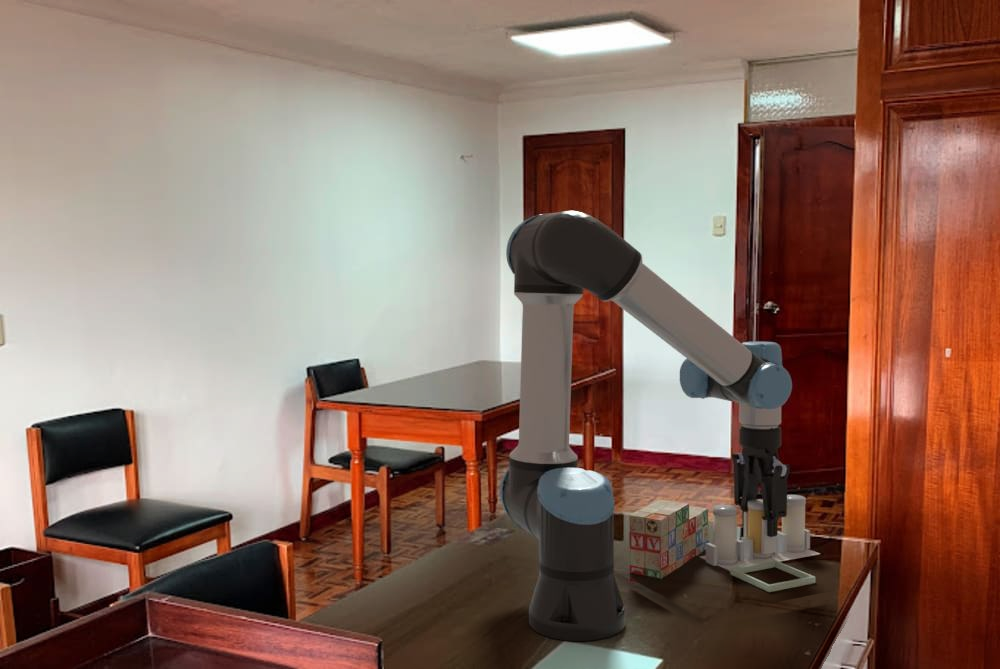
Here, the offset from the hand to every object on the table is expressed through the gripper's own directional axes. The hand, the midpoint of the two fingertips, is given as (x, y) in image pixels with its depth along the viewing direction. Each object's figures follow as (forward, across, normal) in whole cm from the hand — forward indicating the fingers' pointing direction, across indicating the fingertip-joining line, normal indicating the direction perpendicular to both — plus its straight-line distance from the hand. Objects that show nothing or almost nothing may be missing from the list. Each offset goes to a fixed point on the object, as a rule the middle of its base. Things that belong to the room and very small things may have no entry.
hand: (759, 548), depth 171 cm
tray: (+3, -11, +6) cm, 13 cm away
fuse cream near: (+1, 0, +8) cm, 8 cm away
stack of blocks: (+3, +6, +16) cm, 17 cm away
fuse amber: (+1, 0, 0) cm, 1 cm away
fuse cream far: (+1, 0, -8) cm, 8 cm away
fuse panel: (+3, 0, 0) cm, 3 cm away
